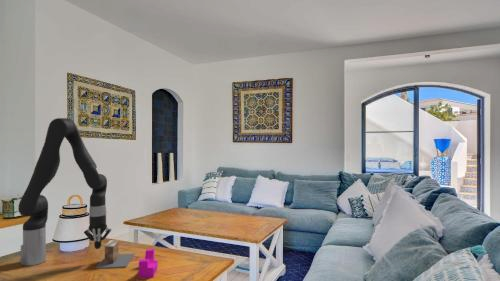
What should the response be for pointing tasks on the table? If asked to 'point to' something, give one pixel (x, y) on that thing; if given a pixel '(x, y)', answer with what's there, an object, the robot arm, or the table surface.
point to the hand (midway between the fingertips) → (98, 248)
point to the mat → (117, 262)
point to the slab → (111, 251)
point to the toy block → (148, 265)
